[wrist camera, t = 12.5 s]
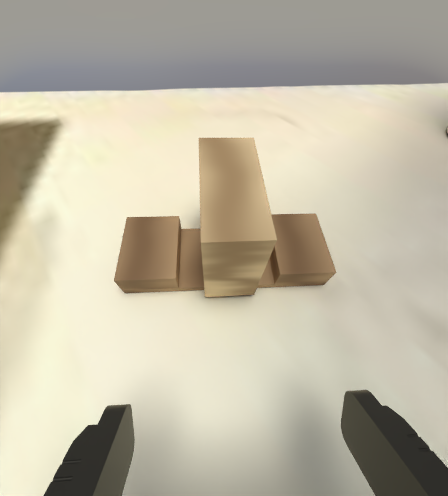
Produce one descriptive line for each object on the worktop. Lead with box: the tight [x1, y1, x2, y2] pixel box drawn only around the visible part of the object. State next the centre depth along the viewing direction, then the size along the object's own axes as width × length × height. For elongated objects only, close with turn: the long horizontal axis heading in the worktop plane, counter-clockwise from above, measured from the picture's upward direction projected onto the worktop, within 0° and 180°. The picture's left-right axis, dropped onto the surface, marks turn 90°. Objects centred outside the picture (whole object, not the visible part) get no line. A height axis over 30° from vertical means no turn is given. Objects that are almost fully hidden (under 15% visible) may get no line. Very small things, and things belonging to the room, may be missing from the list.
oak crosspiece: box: [199, 138, 277, 297], centre depth 18 cm, size 4×9×8 cm, turn 4°
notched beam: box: [114, 214, 336, 293], centre depth 20 cm, size 17×6×2 cm, turn 93°
